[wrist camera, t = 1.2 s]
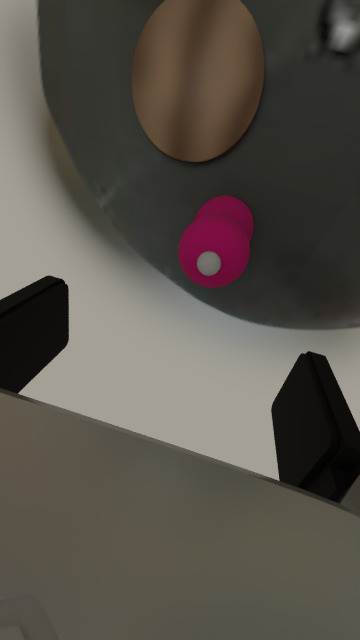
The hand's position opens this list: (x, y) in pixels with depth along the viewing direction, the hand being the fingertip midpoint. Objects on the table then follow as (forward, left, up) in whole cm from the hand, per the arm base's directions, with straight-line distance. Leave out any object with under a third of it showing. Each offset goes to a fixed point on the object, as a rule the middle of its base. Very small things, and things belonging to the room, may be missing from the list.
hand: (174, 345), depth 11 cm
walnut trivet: (+7, -13, -30) cm, 33 cm away
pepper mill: (0, 0, -30) cm, 30 cm away
